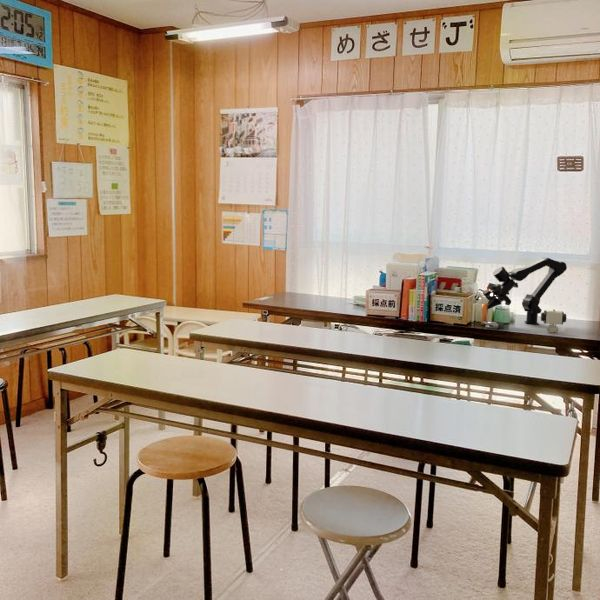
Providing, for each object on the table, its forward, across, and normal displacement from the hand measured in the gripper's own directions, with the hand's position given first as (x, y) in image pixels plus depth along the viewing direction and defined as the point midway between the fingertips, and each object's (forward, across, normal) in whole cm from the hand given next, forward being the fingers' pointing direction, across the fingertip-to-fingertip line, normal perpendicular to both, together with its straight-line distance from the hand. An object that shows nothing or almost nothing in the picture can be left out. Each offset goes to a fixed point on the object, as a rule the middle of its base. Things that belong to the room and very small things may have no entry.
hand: (486, 308), depth 337 cm
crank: (+7, +6, +5) cm, 10 cm away
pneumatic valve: (-9, +26, +22) cm, 35 cm away
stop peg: (+5, +10, +8) cm, 13 cm away
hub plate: (+8, +8, +5) cm, 12 cm away
